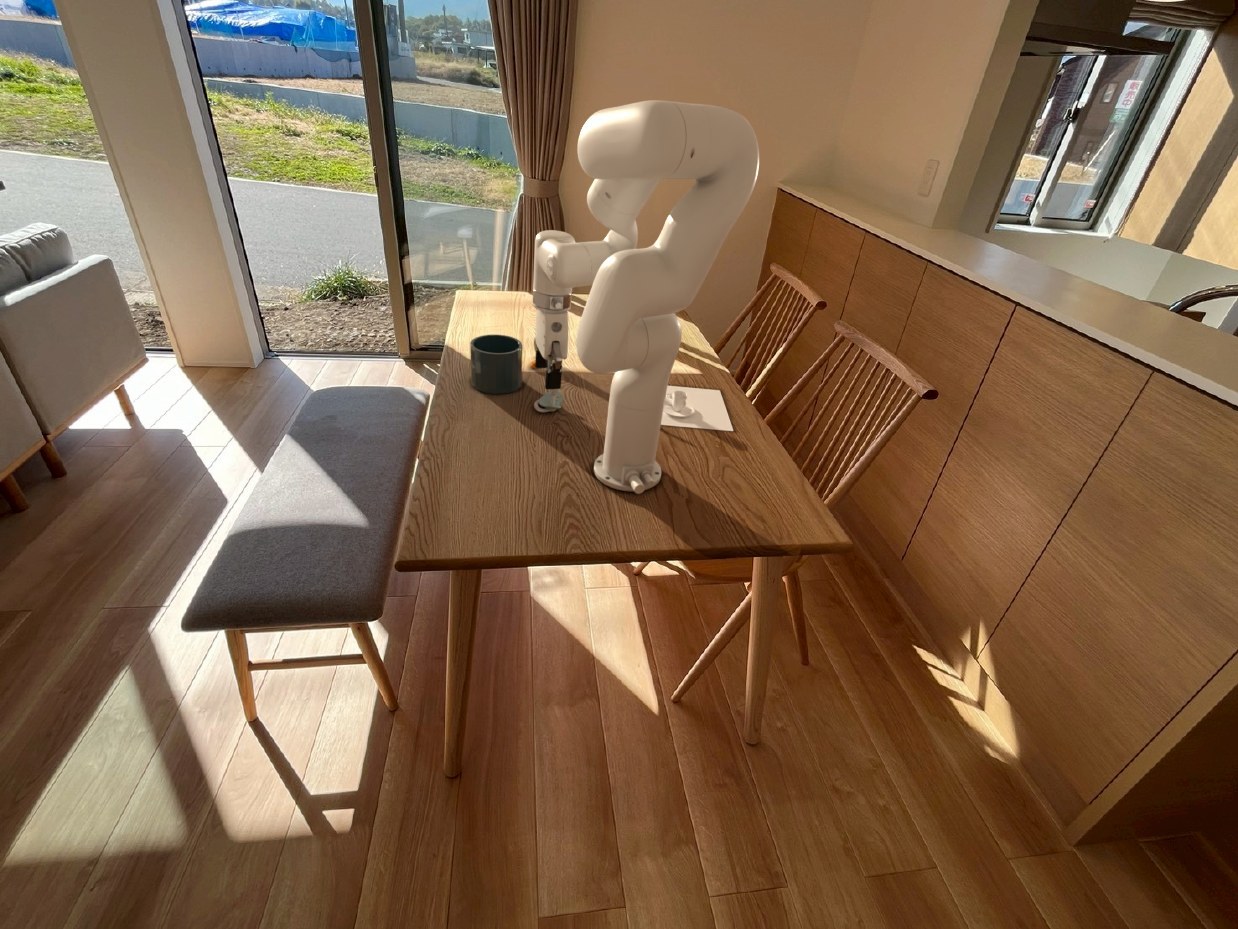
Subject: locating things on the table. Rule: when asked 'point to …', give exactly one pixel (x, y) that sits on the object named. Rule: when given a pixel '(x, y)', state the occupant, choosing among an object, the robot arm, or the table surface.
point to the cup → (496, 364)
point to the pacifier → (549, 401)
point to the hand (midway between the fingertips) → (547, 377)
